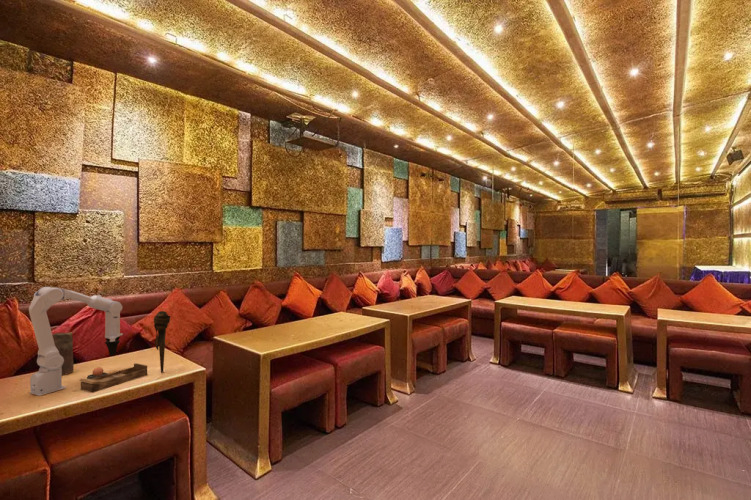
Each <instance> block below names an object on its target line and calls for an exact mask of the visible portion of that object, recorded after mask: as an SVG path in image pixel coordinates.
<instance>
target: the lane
mask: <svg viewBox="0 0 751 500" xmlns="http://www.w3.org/2000/svg"><path fill="white" fill-rule="evenodd" d="M145 376H148V365H146V364H141V363H135V362H134V363H133V366H132V367H129V368H124V369H121V370H118V371H115V372H112V373H108V374H107V375H103V376H100V377H96V378H93V379H87V378H80V379H79V382H80V390H83V391H85V392H91V393H96V392H99V391H101V390H105V389H107V388H111V387H114V386H116V385H121V384H123V383H126V382H129V381H133V380H136V379H138V378H142V377H145Z"/></svg>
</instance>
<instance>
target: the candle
mask: <svg viewBox="0 0 751 500" xmlns="http://www.w3.org/2000/svg"><path fill="white" fill-rule="evenodd" d="M52 336H53V340H54V343H55V347H56V348H57V349H58V351H59V354H60V355H61V356H62V357H63V358H64V363H63V365H62V367H61V368H62V376H64V375H68V374H70V373H72V372H74V368H75V367H74V366H75V365H74V348H73V347H74V344H73V340H74V339H73V332H72V331H70V332H59V333H52Z"/></svg>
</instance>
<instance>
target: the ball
mask: <svg viewBox="0 0 751 500" xmlns="http://www.w3.org/2000/svg"><path fill="white" fill-rule="evenodd" d="M103 372H104V369H103V367H95V368H94V369H92V373H91V374H93V375H94V376H100V375H102V374H103Z"/></svg>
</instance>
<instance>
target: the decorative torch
mask: <svg viewBox="0 0 751 500" xmlns="http://www.w3.org/2000/svg"><path fill="white" fill-rule="evenodd" d="M170 321H171V315H169V314H168V313H167V311H165V310H161V311H158V312H157V313H156V315H154V317H153V323H154V324H153V327H154V329H155V333H156V334H155V335H156V336H155V339H154V345H155V348H156V350H157V351H158V352H159V363H160V364H159V365H160V373H162V374H163V373H164V365H165V363H164V362H165V352H166V351H165V350H166V334H167V333H166V331H167V328H168V326H169V324H170Z"/></svg>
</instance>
